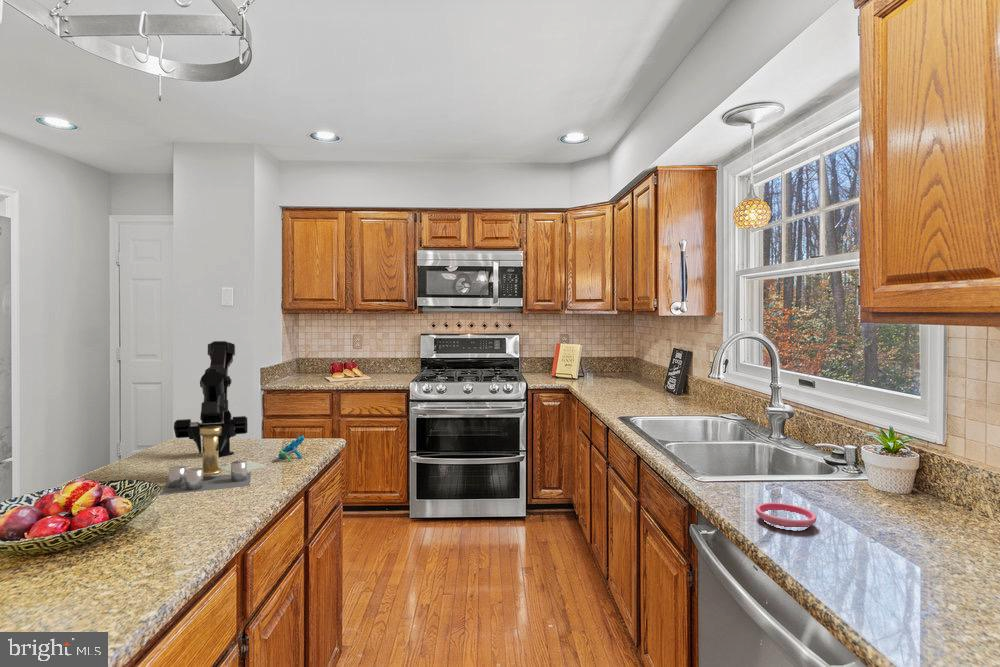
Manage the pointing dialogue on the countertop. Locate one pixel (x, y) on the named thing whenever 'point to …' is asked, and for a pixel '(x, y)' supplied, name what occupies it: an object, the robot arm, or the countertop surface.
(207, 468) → the brass post
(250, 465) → the pad
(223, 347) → the robot arm
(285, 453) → the blue and green figurine
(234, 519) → the countertop surface
